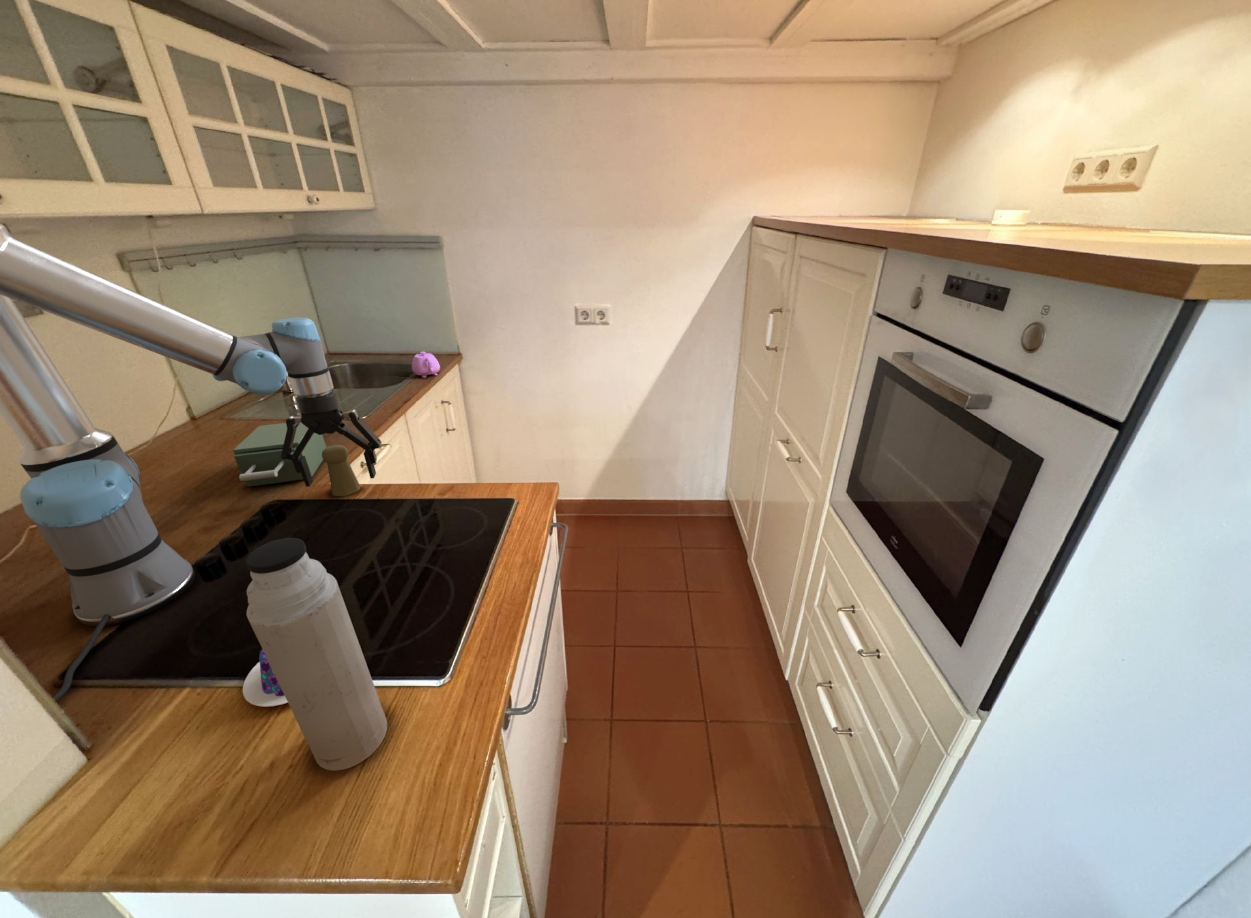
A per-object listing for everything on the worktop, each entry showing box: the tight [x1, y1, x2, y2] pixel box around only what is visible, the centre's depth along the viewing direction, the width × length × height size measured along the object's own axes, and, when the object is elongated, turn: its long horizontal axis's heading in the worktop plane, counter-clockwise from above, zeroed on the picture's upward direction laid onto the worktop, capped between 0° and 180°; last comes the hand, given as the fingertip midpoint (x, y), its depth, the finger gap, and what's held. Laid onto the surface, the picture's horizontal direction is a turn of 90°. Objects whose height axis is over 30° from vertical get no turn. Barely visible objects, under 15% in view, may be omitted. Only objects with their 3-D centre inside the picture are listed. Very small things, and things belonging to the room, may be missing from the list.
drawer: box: [234, 446, 304, 487], centre depth 122 cm, size 21×13×8 cm, turn 14°
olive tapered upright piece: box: [322, 444, 361, 497], centre depth 115 cm, size 6×6×11 cm
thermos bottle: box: [245, 537, 388, 772], centre depth 54 cm, size 8×8×28 cm
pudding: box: [242, 648, 289, 707], centre depth 69 cm, size 12×12×5 cm
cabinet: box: [232, 422, 327, 487], centre depth 127 cm, size 16×14×10 cm
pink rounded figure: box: [411, 351, 441, 379], centre depth 202 cm, size 10×15×9 cm
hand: (342, 480), depth 116 cm, fingers open, 13 cm apart
